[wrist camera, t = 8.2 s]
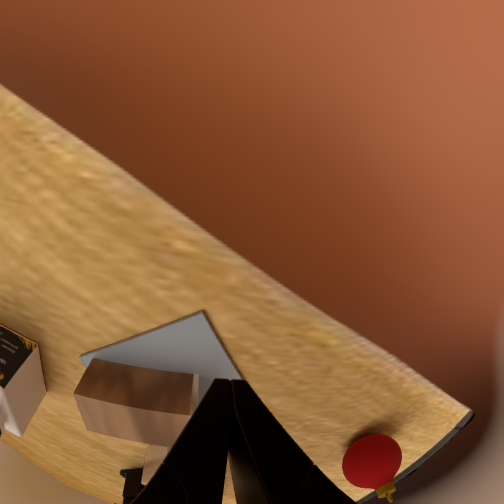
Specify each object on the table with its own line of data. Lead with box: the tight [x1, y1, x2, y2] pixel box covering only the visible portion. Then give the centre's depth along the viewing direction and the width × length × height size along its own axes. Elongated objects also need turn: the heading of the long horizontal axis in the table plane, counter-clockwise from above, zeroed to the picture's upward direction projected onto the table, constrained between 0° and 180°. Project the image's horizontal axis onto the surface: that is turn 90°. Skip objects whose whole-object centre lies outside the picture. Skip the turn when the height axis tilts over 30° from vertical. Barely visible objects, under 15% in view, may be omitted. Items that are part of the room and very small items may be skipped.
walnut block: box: [73, 358, 199, 447], centre depth 19 cm, size 4×4×9 cm
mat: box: [79, 310, 243, 404], centre depth 22 cm, size 16×12×1 cm
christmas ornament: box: [342, 434, 402, 502], centre depth 22 cm, size 7×7×10 cm
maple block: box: [141, 444, 172, 486], centre depth 21 cm, size 4×4×5 cm
